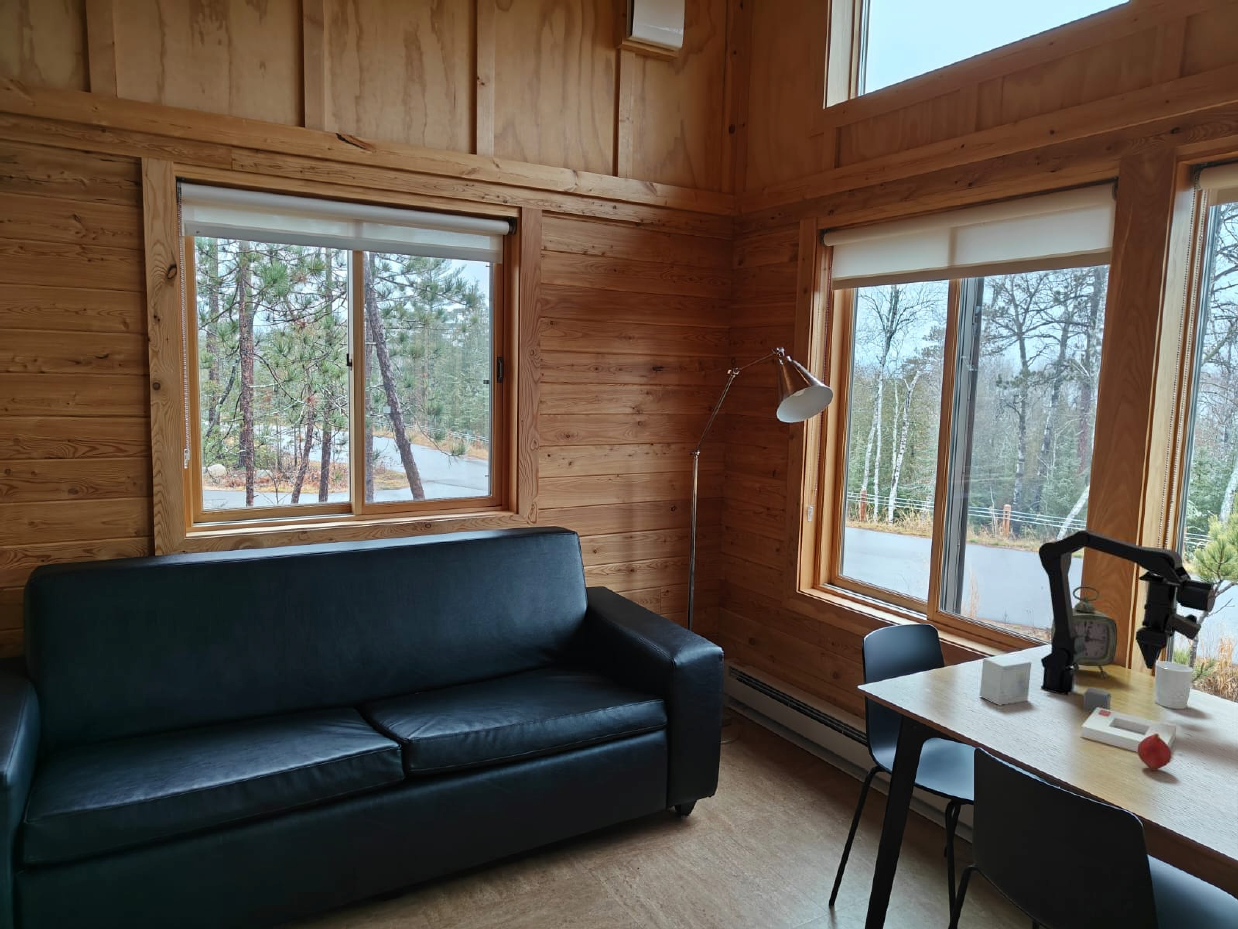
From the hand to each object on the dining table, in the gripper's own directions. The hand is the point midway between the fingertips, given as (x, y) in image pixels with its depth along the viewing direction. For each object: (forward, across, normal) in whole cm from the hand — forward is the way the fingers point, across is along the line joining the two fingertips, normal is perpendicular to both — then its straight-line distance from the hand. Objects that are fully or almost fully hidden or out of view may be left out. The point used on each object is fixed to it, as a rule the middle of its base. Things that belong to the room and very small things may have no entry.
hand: (1152, 664), depth 198 cm
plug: (+13, -5, +10) cm, 17 cm away
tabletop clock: (+14, +24, +19) cm, 34 cm away
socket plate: (+13, -19, +1) cm, 23 cm away
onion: (+13, -35, -6) cm, 37 cm away
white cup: (+13, +13, -4) cm, 19 cm away
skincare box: (+14, -14, +29) cm, 35 cm away
